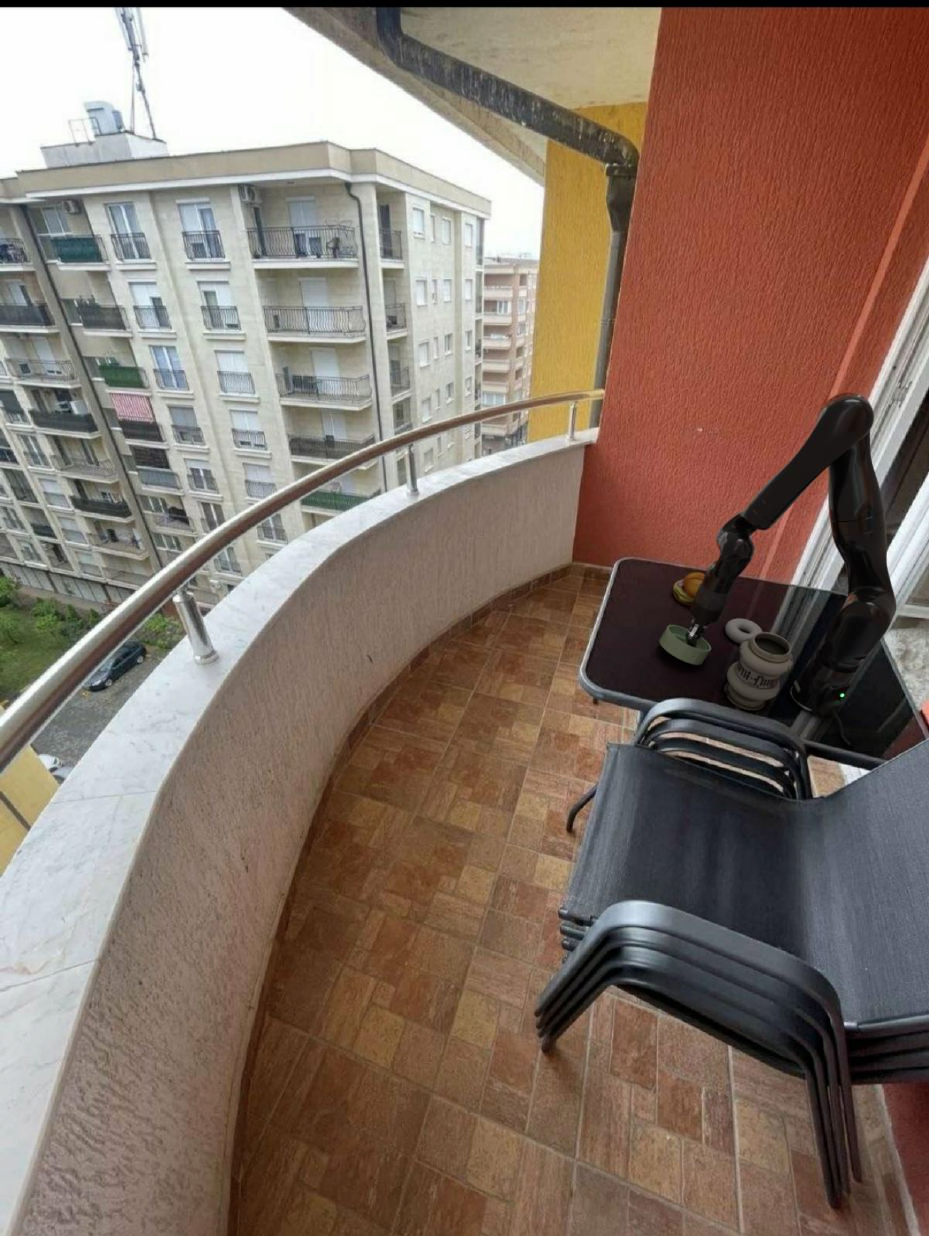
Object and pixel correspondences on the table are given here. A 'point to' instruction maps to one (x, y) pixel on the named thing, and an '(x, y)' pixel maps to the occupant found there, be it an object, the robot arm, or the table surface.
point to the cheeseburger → (688, 588)
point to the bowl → (684, 645)
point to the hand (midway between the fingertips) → (689, 650)
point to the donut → (741, 624)
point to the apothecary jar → (758, 670)
